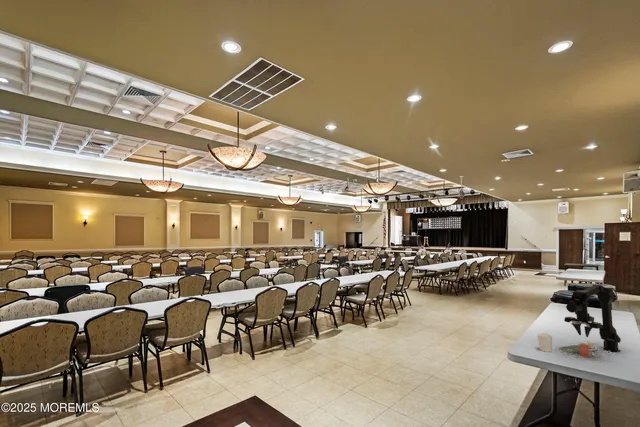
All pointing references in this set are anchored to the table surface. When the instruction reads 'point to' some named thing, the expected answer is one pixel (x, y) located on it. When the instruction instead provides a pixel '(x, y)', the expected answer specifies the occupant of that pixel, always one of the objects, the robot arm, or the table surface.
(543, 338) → the white cup
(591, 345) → the toggle
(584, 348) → the cap
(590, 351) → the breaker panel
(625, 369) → the table surface
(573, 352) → the frame
